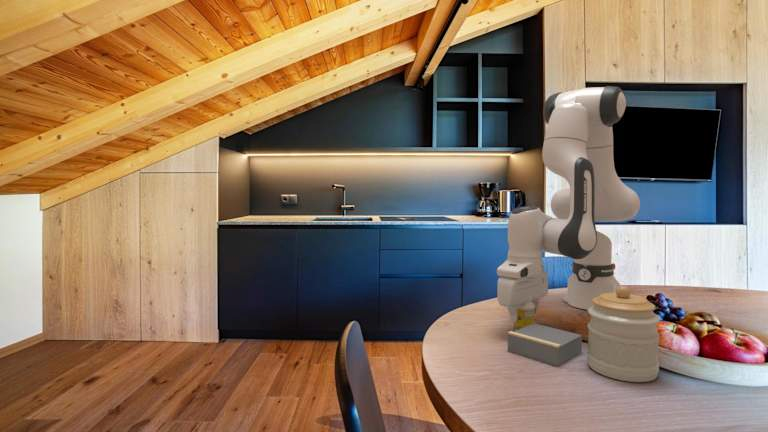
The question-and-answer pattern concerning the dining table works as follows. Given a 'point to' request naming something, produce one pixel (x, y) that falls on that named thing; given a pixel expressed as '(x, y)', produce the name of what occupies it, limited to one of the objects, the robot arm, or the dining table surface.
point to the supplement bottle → (525, 315)
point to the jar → (623, 337)
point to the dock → (545, 343)
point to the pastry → (583, 330)
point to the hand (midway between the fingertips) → (524, 317)
